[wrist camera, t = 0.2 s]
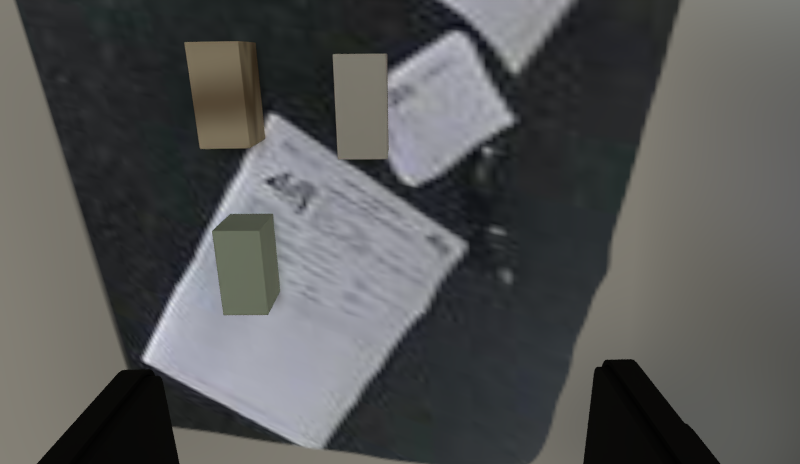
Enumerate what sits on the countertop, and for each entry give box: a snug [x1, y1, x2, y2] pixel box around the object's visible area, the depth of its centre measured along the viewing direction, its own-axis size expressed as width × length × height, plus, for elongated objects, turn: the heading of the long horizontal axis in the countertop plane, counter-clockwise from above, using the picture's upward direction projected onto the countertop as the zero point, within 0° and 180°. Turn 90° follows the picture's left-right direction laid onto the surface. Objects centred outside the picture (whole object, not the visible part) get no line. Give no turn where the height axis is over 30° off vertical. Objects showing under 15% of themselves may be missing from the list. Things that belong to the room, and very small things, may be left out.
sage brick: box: [212, 214, 280, 315], centre depth 46 cm, size 8×4×5 cm, turn 0°
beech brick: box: [184, 41, 265, 149], centre depth 41 cm, size 8×4×5 cm, turn 1°
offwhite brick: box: [333, 54, 389, 159], centre depth 42 cm, size 8×4×5 cm, turn 0°
